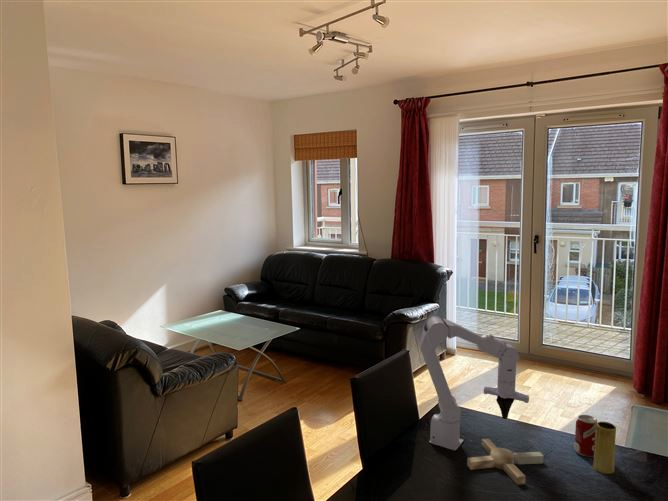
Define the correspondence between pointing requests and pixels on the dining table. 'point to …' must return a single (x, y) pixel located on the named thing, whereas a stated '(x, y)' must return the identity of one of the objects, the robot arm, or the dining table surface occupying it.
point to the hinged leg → (528, 458)
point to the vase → (605, 448)
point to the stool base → (497, 461)
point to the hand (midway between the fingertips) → (505, 417)
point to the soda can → (585, 435)
